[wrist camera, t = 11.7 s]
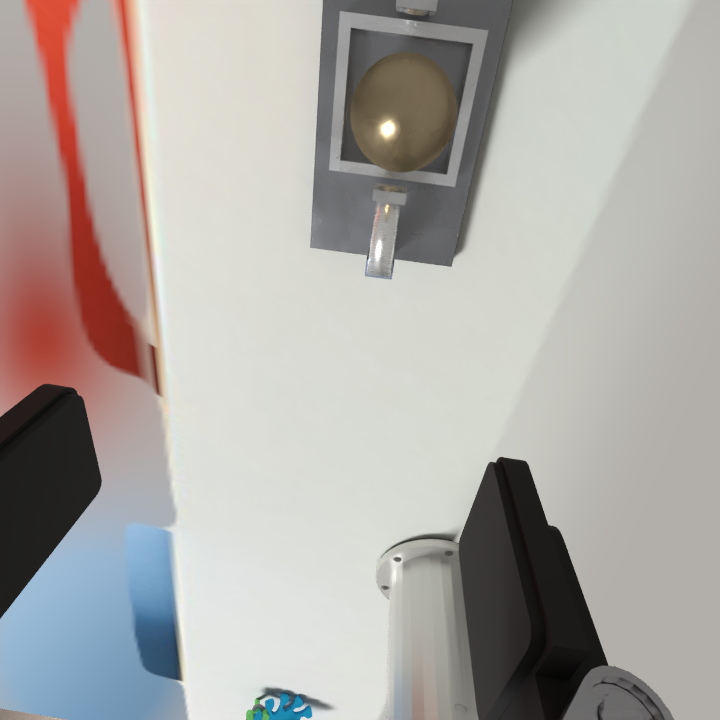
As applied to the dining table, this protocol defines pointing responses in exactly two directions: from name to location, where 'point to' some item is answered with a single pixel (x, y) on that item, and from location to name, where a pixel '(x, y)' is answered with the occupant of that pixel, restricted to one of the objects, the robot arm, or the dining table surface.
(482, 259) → the dining table surface
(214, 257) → the dining table surface
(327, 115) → the coupling stand
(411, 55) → the cylinder
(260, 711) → the gear
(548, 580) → the robot arm
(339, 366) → the dining table surface
